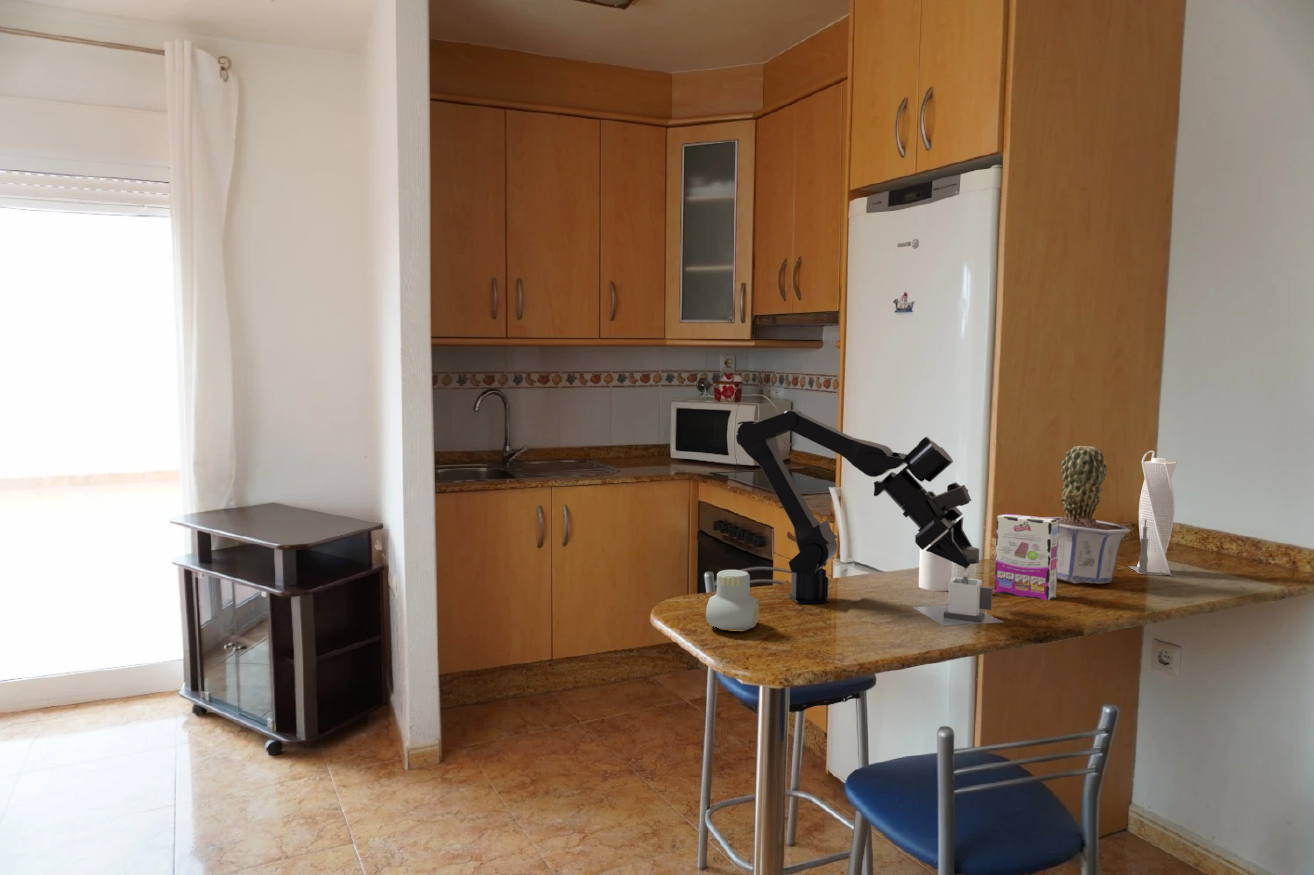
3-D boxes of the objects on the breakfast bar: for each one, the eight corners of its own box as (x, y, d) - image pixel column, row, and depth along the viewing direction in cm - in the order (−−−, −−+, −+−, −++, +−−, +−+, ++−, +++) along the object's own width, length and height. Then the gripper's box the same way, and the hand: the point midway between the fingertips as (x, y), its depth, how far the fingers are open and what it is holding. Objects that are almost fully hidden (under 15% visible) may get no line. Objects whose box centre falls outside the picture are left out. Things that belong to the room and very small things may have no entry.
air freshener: (750, 638, 152) (751, 581, 151) (703, 634, 154) (704, 578, 153) (760, 621, 162) (761, 568, 162) (716, 617, 165) (716, 564, 164)
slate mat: (942, 629, 158) (942, 625, 158) (911, 611, 170) (912, 607, 170) (1003, 626, 160) (1003, 622, 160) (969, 608, 172) (969, 604, 172)
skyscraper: (1126, 566, 209) (1131, 449, 207) (1162, 568, 208) (1168, 450, 206) (1140, 574, 201) (1146, 453, 199) (1178, 576, 200) (1185, 453, 198)
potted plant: (1132, 593, 185) (1140, 450, 182) (1040, 585, 190) (1045, 447, 188) (1118, 574, 201) (1124, 443, 199) (1033, 568, 207) (1038, 441, 205)
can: (952, 595, 182) (954, 538, 181) (919, 593, 183) (921, 536, 182) (948, 587, 188) (950, 532, 187) (917, 586, 189) (918, 531, 188)
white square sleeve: (943, 617, 162) (944, 583, 162) (949, 609, 168) (950, 575, 168) (989, 623, 159) (990, 588, 158) (993, 614, 165) (994, 580, 164)
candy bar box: (1056, 597, 181) (1060, 518, 179) (1048, 602, 177) (1051, 521, 176) (1002, 588, 188) (1005, 512, 187) (993, 592, 184) (996, 514, 183)
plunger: (951, 590, 163) (952, 549, 162) (954, 585, 166) (956, 545, 166) (976, 593, 161) (977, 551, 160) (979, 588, 164) (980, 547, 164)
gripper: (935, 475, 155) (1000, 542, 151) (952, 465, 172) (1010, 525, 168) (889, 515, 160) (951, 582, 155) (910, 502, 176) (966, 562, 172)
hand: (971, 561), depth 163 cm, fingers open, 9 cm apart
